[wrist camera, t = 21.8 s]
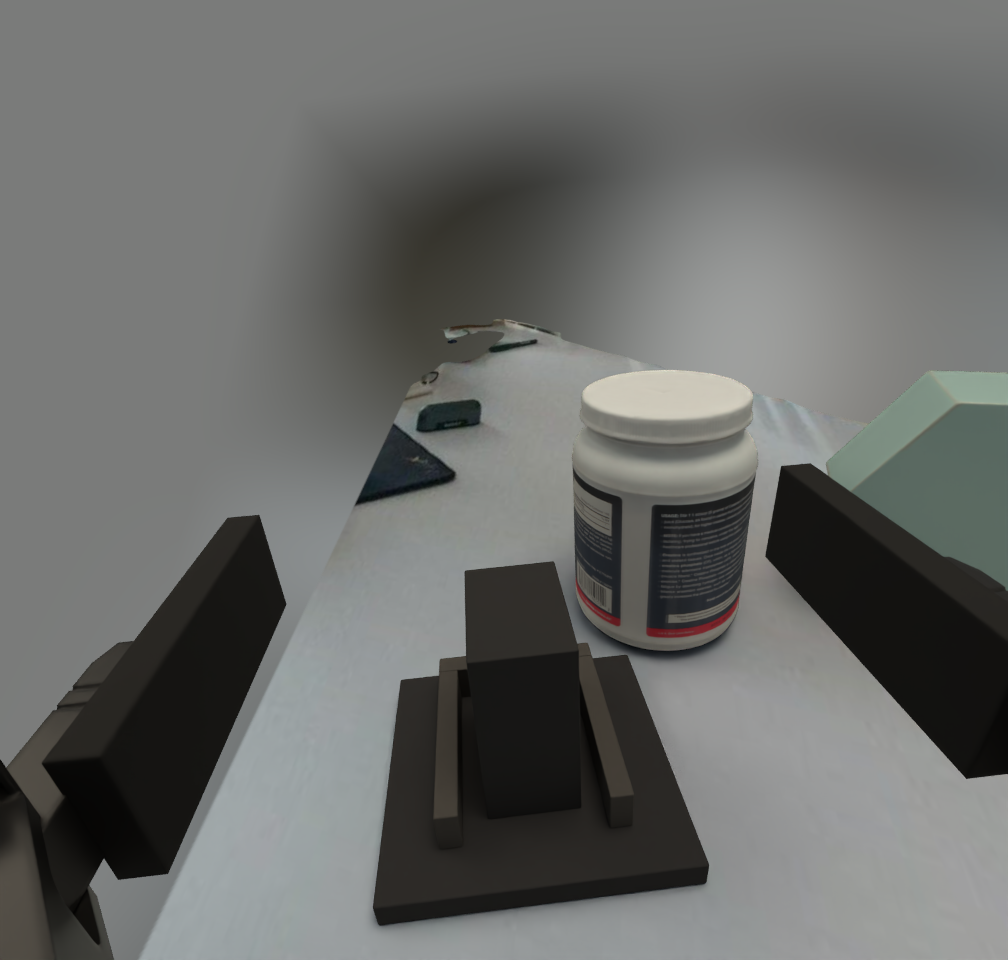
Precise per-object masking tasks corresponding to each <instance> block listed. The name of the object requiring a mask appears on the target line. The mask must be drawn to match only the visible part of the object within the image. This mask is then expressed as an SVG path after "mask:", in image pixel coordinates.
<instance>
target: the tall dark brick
mask: <svg viewBox="0 0 1008 960" xmlns="http://www.w3.org/2000/svg"><path fill="white" fill-rule="evenodd" d="M465 615H466V663H467V671H468V678H469V685H470V693H471V700H472V707H473V715H474V722H475V729H476V737H477V744H478V751H479V759H480V766H481V773H482V781H483V788H484V795H485V803H486V810H487V817H488V819H494V818H502V817H510V816H518V815H526V814H535V813H543V812H551V811H559V810H567V809H575V808H581V745H580V682H579V649H578V645H577V642H576V638H575V635H574V631H573V627H572V624H571V620H570V617H569V613H568V610H567V606H566V603H565V599H564V595H563V592H562V588H561V585H560V581H559V578H558V574H557V571H556V567H555V563H554V562H543V563H534V564H524V565H515V566H505V567H496V568H486V569H477V570H467V571H465Z"/></svg>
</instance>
